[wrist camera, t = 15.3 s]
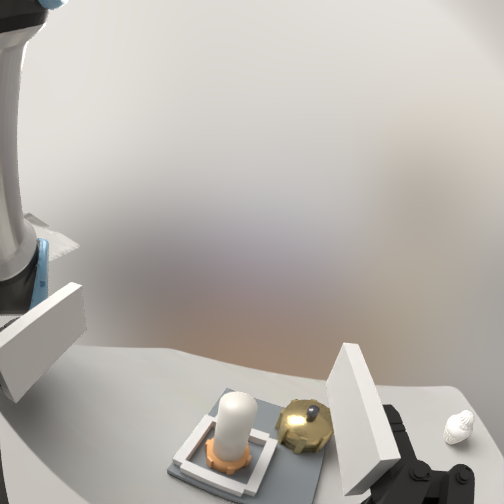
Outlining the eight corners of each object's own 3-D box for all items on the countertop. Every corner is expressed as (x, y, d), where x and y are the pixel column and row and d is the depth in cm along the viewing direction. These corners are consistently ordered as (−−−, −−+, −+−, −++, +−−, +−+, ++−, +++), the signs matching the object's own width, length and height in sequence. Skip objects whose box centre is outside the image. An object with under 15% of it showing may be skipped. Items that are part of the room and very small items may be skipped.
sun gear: (267, 445, 32) (277, 421, 30) (282, 408, 40) (291, 382, 38) (324, 460, 30) (339, 437, 28) (331, 421, 37) (345, 396, 36)
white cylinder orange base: (196, 462, 27) (200, 410, 24) (214, 435, 33) (223, 379, 29) (240, 480, 26) (257, 432, 23) (255, 450, 31) (273, 397, 28)
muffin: (451, 455, 28) (474, 429, 26) (432, 436, 33) (452, 410, 31) (466, 440, 30) (486, 414, 28) (447, 423, 36) (466, 397, 34)
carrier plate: (167, 472, 25) (166, 464, 25) (226, 391, 43) (227, 381, 42) (304, 520, 21) (311, 515, 20) (328, 423, 38) (333, 414, 37)
